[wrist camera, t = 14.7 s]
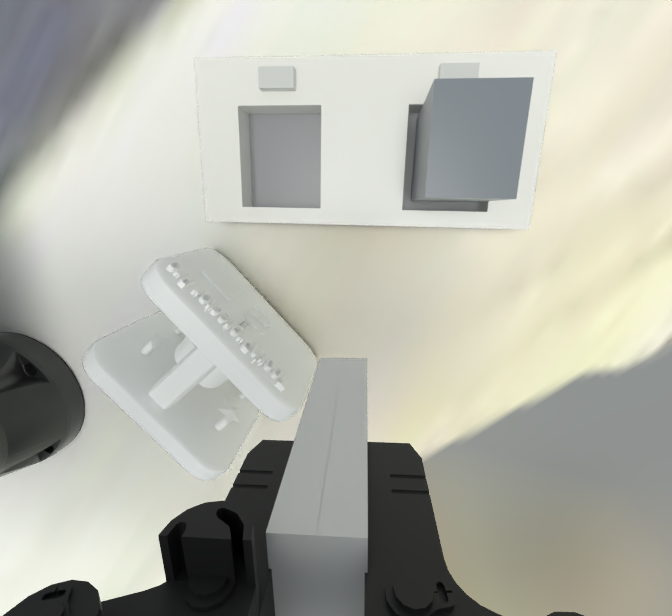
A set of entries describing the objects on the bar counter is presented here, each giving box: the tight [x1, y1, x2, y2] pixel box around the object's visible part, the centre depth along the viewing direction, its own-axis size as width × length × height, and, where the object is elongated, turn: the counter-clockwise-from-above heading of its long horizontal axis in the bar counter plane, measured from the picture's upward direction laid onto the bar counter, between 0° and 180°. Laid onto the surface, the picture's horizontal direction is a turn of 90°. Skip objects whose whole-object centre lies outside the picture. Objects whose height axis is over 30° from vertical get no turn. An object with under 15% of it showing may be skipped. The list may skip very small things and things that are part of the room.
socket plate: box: [194, 51, 557, 230], centre depth 29 cm, size 26×12×4 cm, turn 89°
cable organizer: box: [83, 248, 317, 481], centre depth 31 cm, size 15×11×12 cm
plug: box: [411, 77, 534, 202], centre depth 25 cm, size 5×6×10 cm
